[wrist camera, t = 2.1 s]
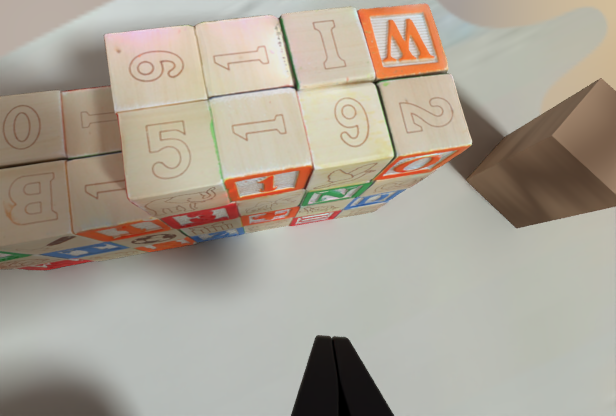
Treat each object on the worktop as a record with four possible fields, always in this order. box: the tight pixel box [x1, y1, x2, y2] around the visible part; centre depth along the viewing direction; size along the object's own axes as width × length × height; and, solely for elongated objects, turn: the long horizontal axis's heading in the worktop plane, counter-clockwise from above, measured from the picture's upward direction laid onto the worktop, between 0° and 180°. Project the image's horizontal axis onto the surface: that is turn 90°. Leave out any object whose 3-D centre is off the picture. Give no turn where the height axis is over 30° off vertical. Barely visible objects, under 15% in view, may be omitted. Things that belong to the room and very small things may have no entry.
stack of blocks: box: [0, 3, 472, 270], centre depth 18 cm, size 21×6×12 cm, turn 102°
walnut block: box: [466, 78, 616, 228], centre depth 22 cm, size 5×5×8 cm
